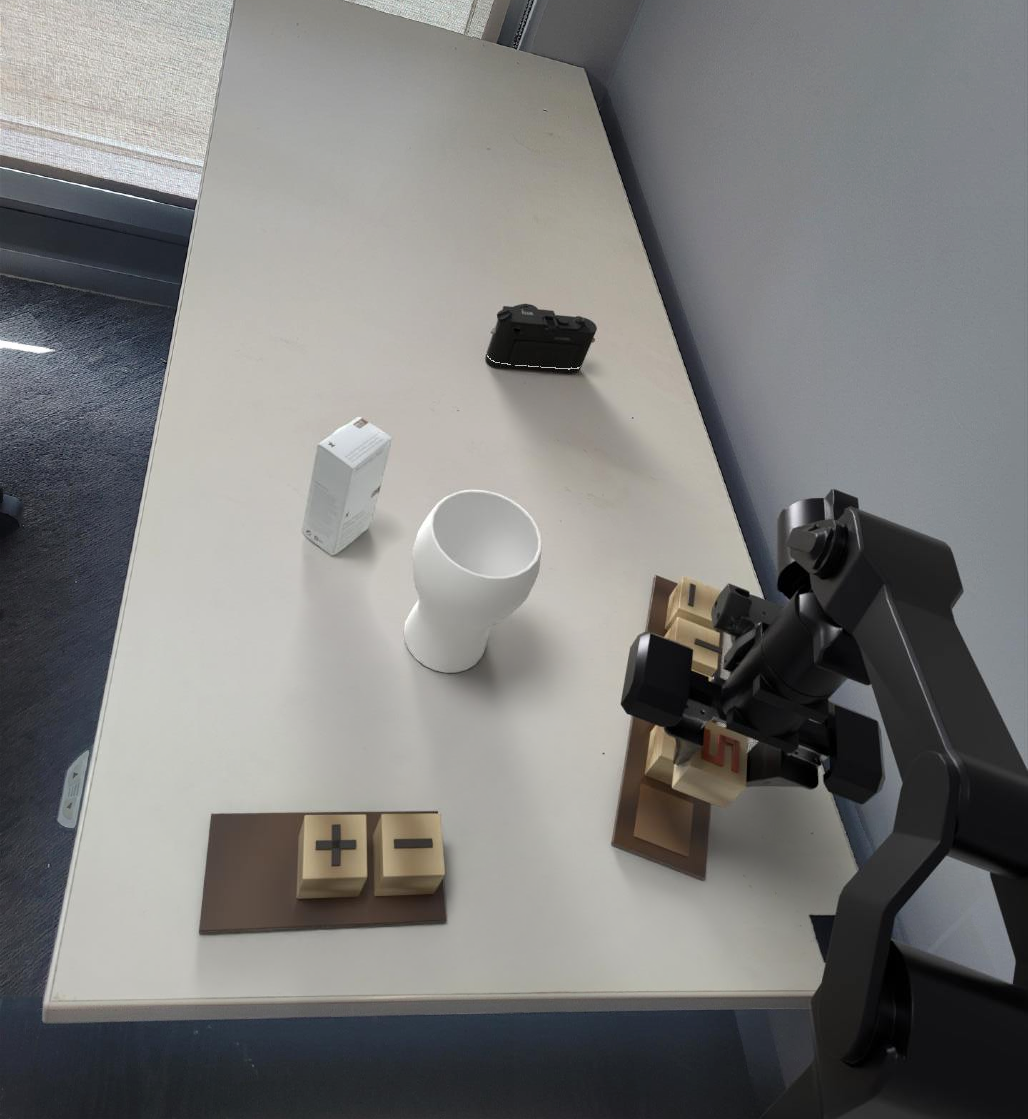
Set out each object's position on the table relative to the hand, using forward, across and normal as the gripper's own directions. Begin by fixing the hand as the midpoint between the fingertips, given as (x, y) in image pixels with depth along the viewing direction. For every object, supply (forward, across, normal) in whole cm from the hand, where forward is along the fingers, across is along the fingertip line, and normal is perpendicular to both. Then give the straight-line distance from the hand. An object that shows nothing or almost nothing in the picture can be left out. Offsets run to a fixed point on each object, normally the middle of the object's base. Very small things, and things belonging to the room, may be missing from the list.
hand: (704, 769), depth 70 cm
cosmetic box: (+10, +36, -17) cm, 41 cm away
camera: (+10, +25, -56) cm, 62 cm away
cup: (+10, +22, -10) cm, 26 cm away
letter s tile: (+1, 0, 0) cm, 1 cm away
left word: (+10, +24, +13) cm, 29 cm away
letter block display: (+10, 0, -12) cm, 15 cm away
